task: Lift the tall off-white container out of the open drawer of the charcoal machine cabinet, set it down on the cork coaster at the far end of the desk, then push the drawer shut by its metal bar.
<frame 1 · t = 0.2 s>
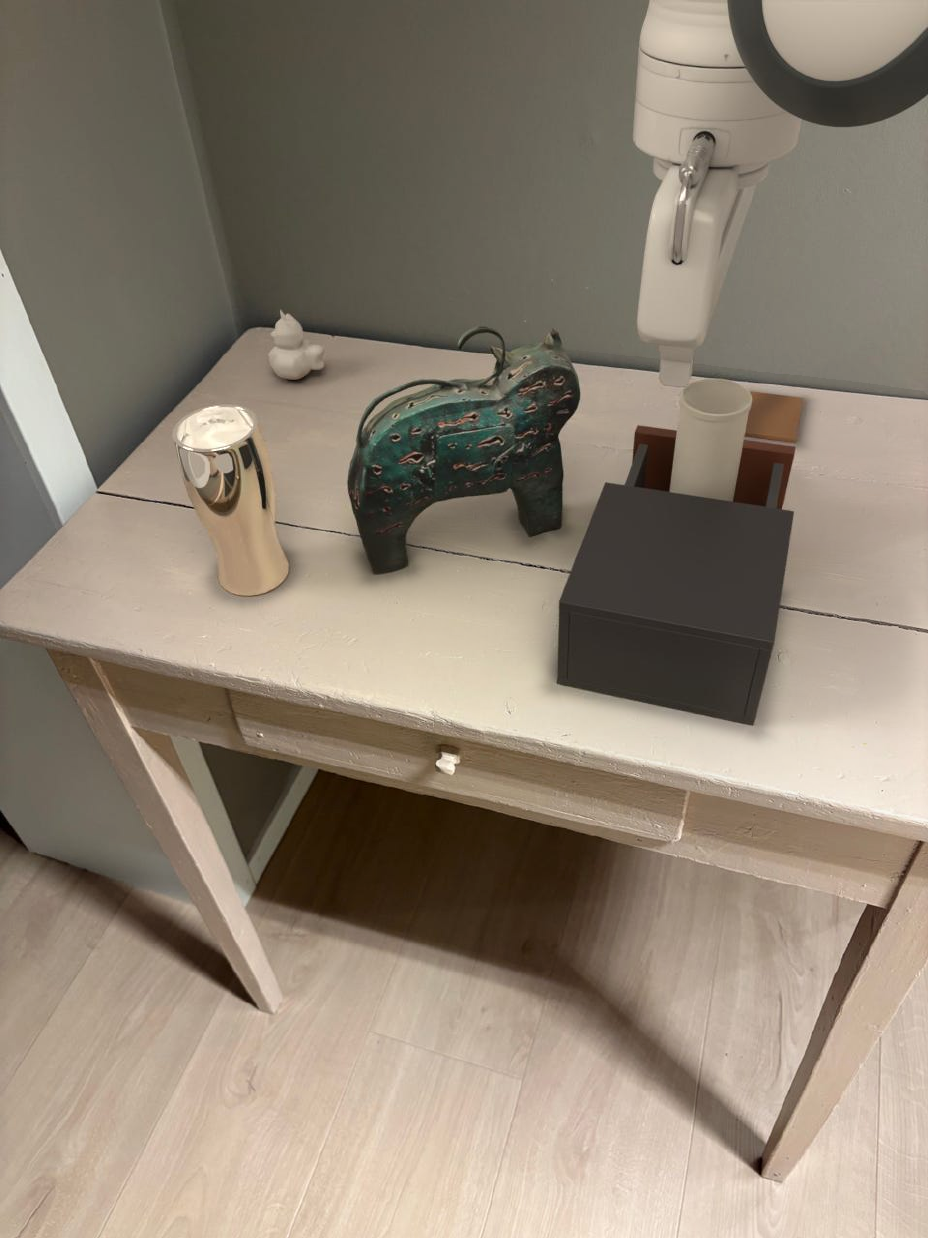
hand: (688, 343, 61), 24 cm above the table, tool pointing down, fingers open, 8 cm apart
drawer: (701, 498, 82), point 4 cm above the table, slide at 9.0 cm, touching container
coaster: (758, 415, 98), on the table
cabinet: (669, 637, 76), on the table
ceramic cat: (470, 544, 86), on the table
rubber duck: (300, 377, 109), on the table
container: (696, 529, 82), point 2 cm above the table, touching drawer
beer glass: (255, 574, 84), on the table
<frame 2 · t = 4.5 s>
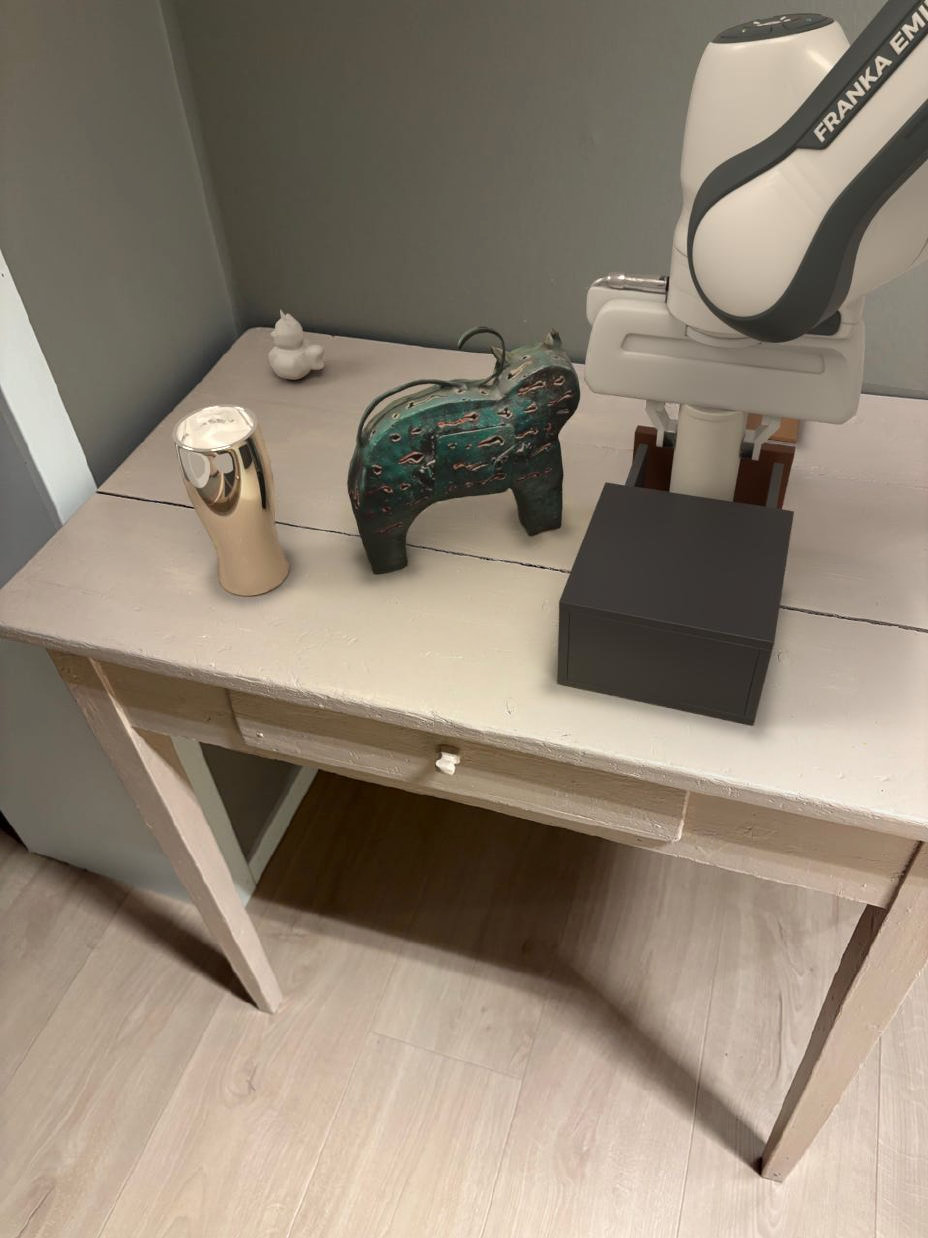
hand: (708, 449, 77), 10 cm above the table, tool pointing down, fingers closed on container, 5 cm apart
container: (696, 529, 82), point 2 cm above the table, touching drawer, gripper
everything else where it was.
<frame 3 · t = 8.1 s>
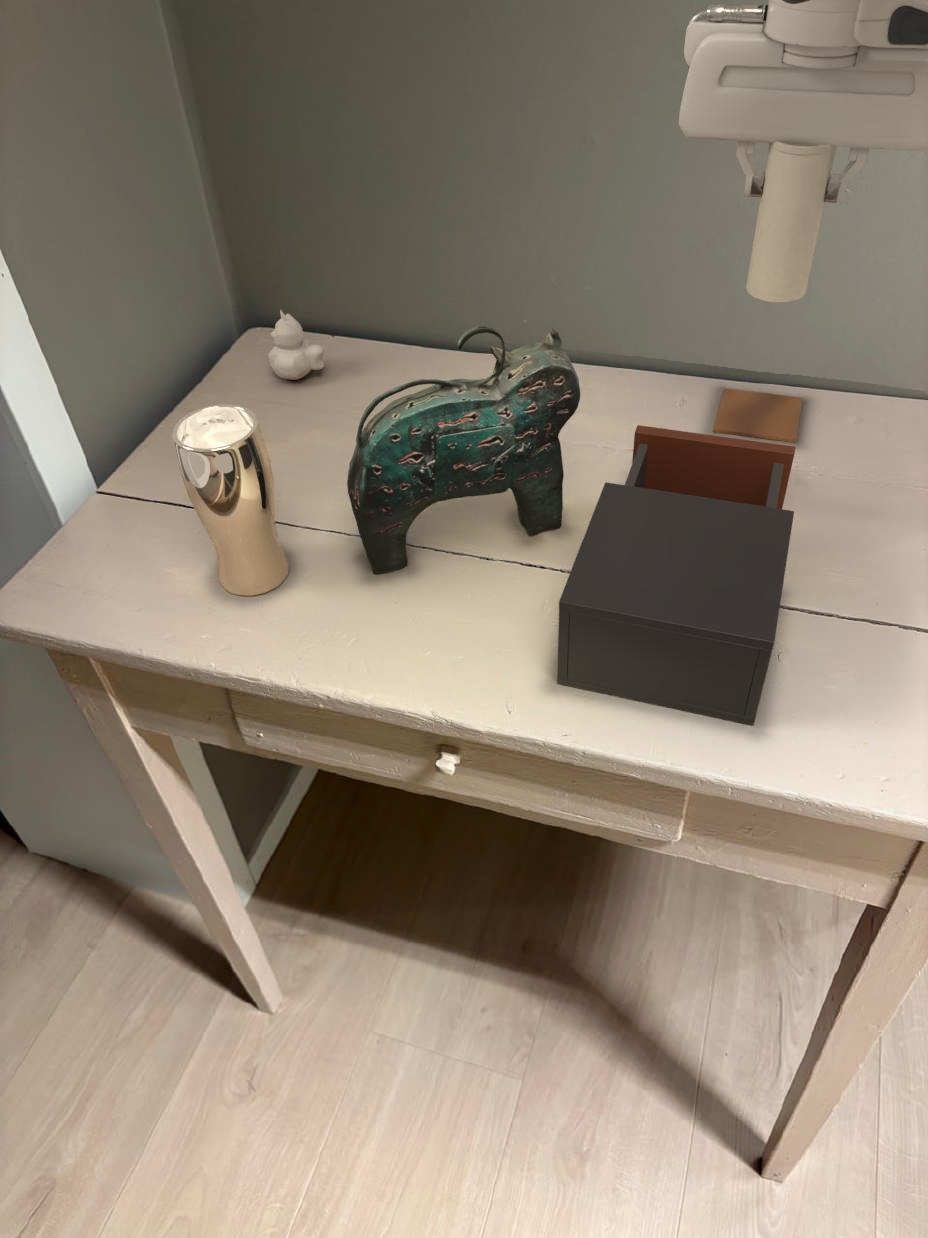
hand: (793, 197, 81), 23 cm above the table, tool pointing down, fingers closed on container, 5 cm apart
drawer: (701, 498, 82), point 4 cm above the table, slide at 9.0 cm
container: (775, 289, 86), point 15 cm above the table, touching gripper
everything else where it was.
when the fingers open (9 cm above the table, at t = 11.7 s): container stays where it is, resting on coaster.
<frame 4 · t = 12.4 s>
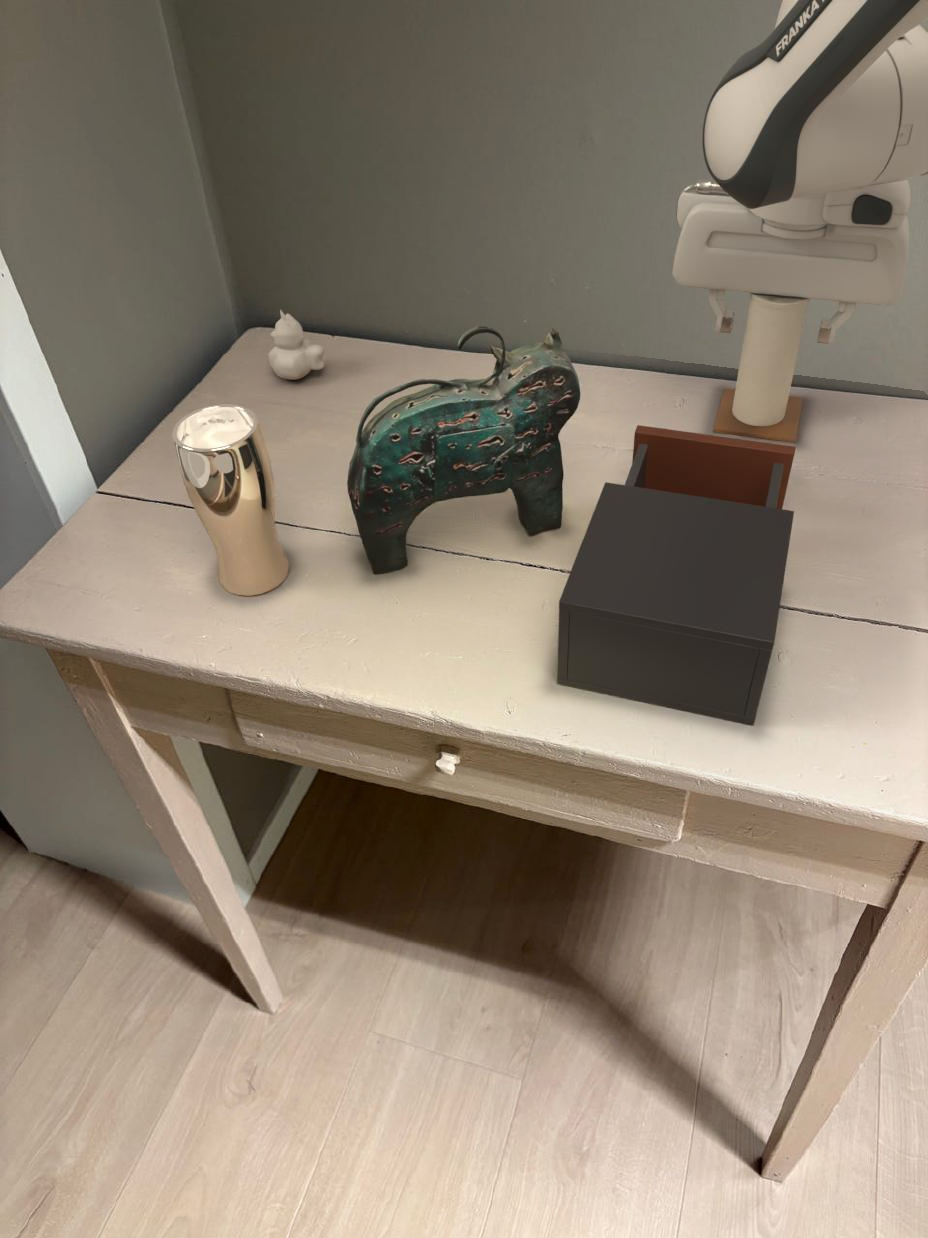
hand: (773, 335, 92), 9 cm above the table, tool pointing down, fingers open, 8 cm apart
container: (758, 412, 98), resting on coaster
everything else where it was.
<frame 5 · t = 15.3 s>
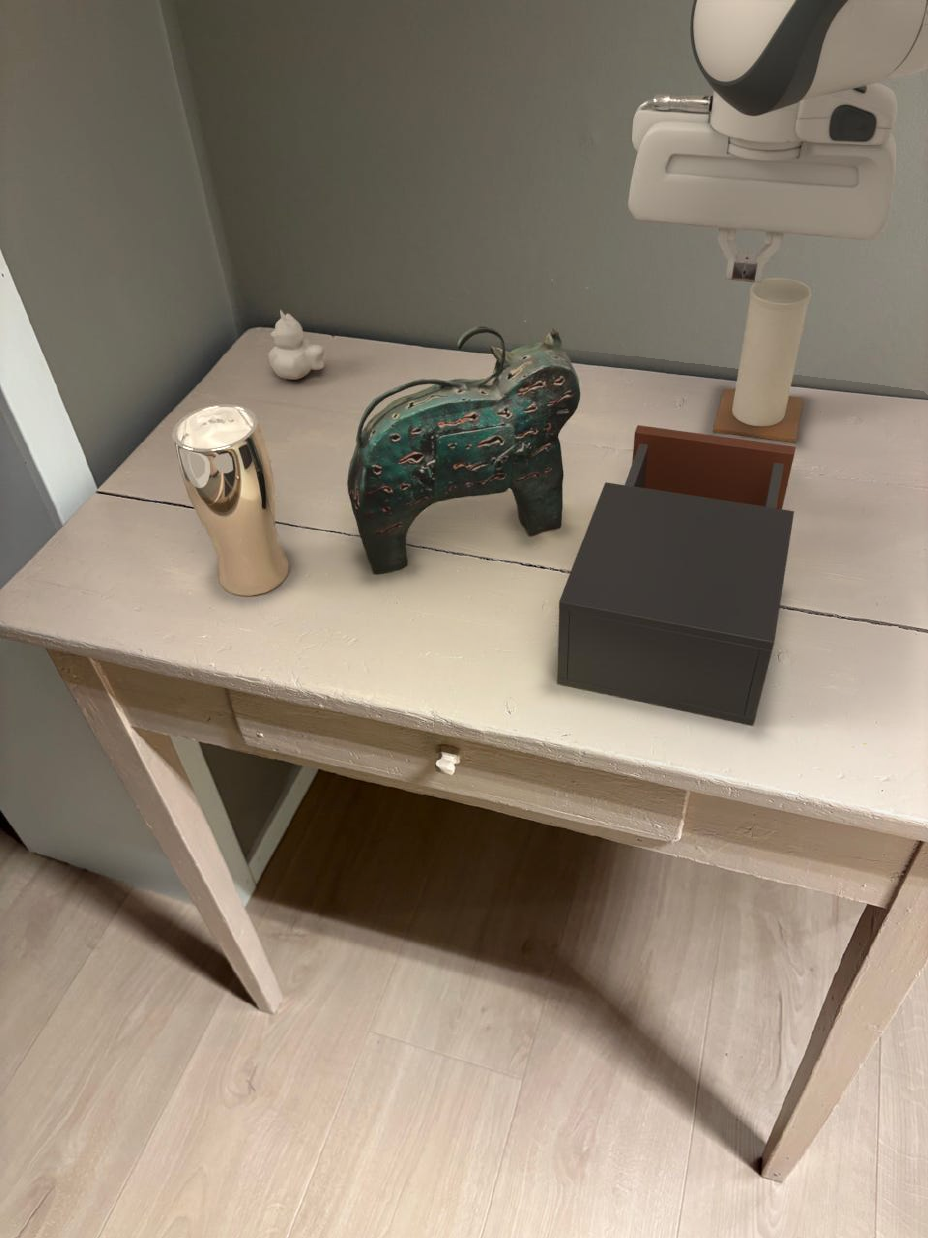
hand: (743, 278, 81), 18 cm above the table, tool pointing down, fingers closed
nothing on the table moved.
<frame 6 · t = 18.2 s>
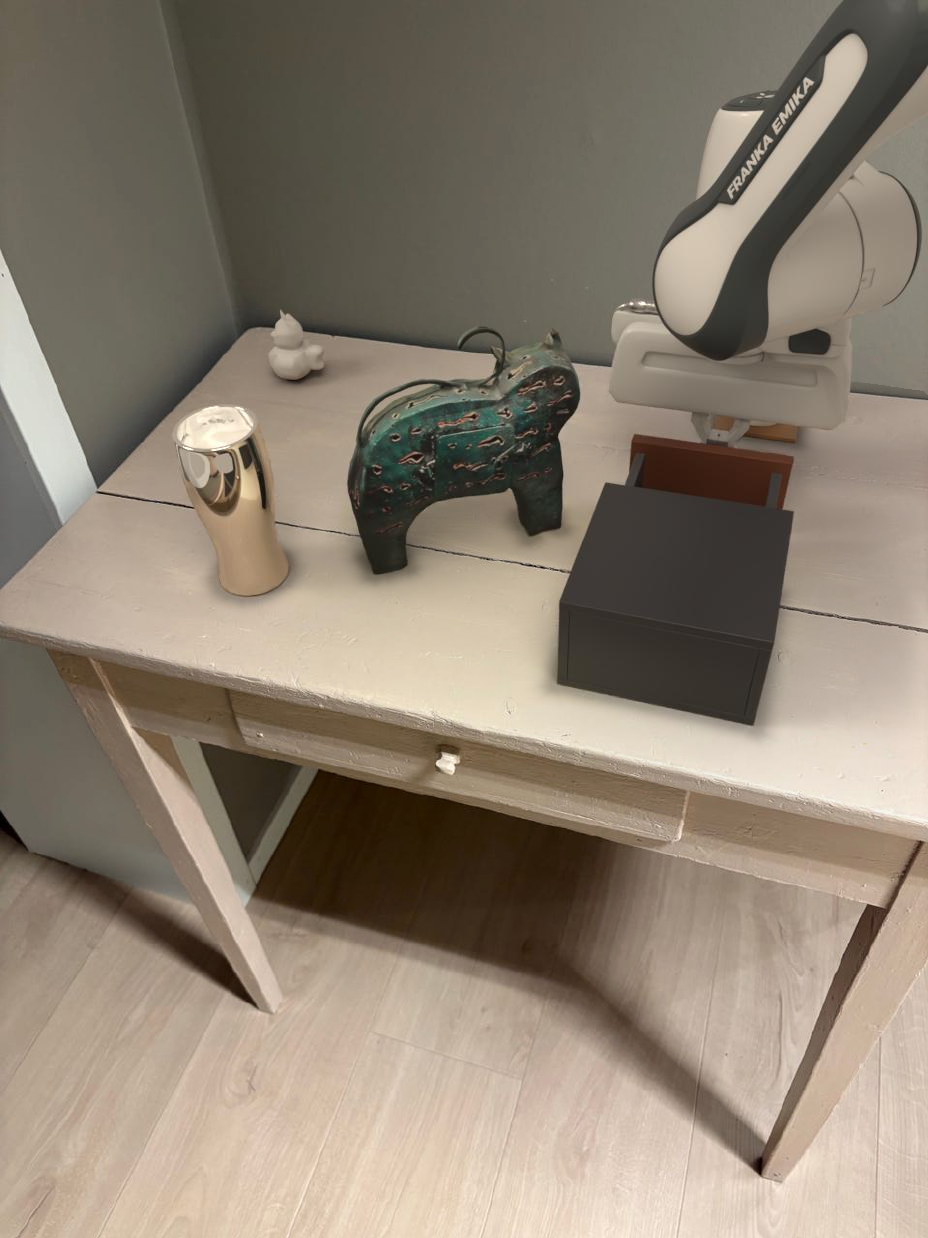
hand: (716, 451, 88), 4 cm above the table, tool pointing down, fingers closed, pressing on drawer
drawer: (699, 508, 81), point 4 cm above the table, slide at 7.6 cm, touching gripper
everything else where it was.
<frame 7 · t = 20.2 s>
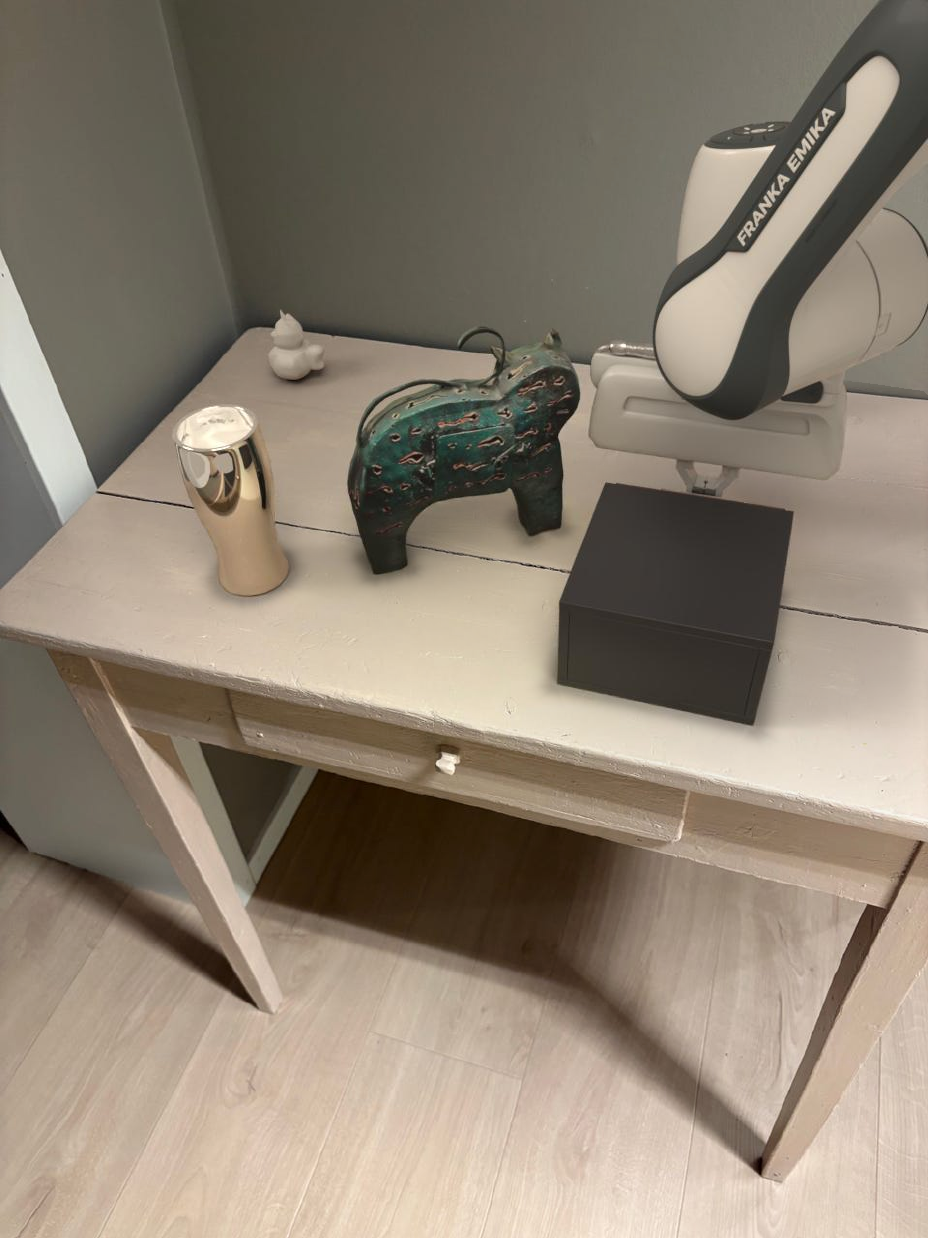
hand: (703, 499, 83), 4 cm above the table, tool pointing down, fingers closed, pressing on drawer
drawer: (684, 563, 76), point 4 cm above the table, slide at 0.2 cm, touching gripper
everything else where it was.
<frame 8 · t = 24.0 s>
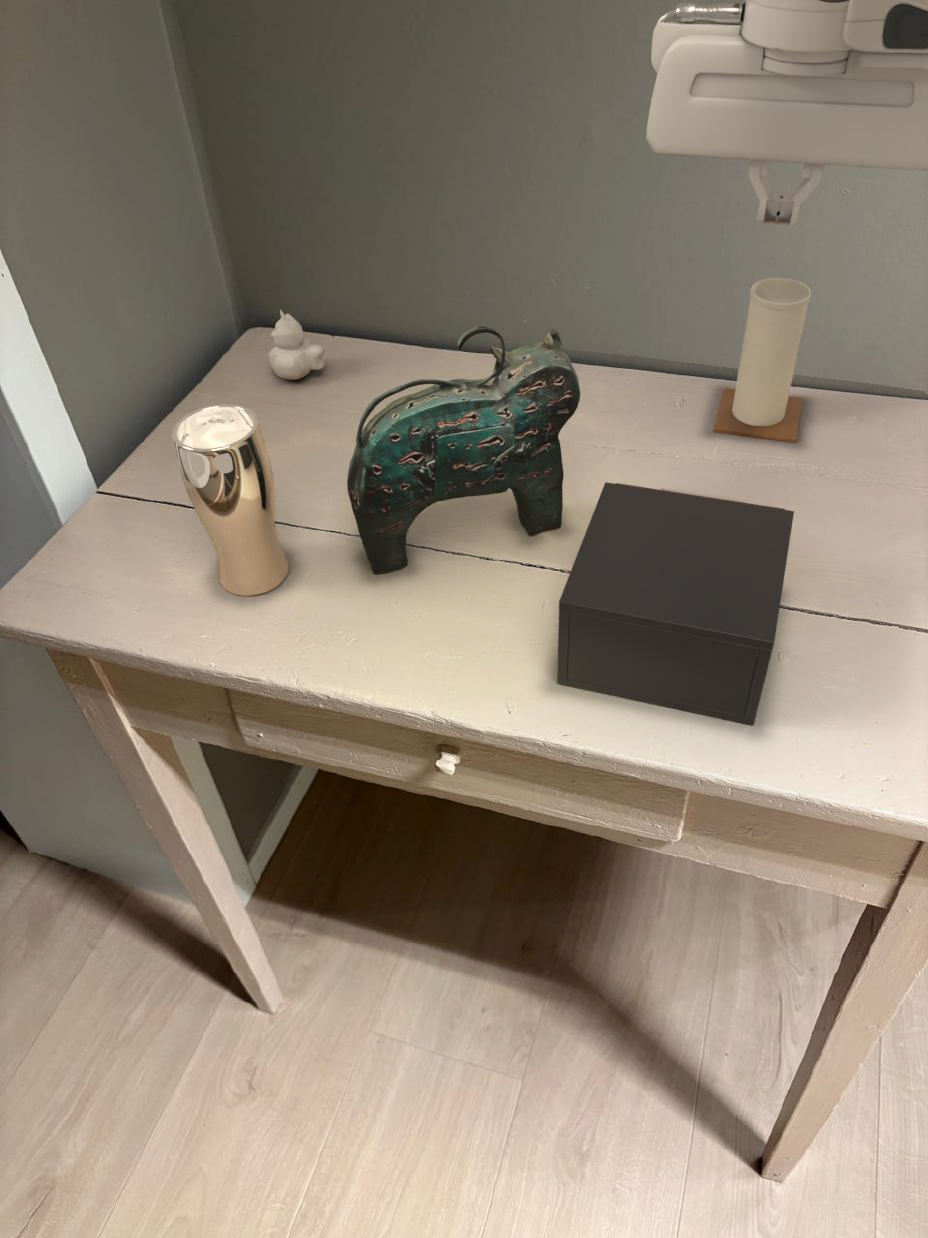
hand: (777, 221, 71), 25 cm above the table, tool pointing down, fingers closed
drawer: (684, 563, 76), point 4 cm above the table, slide at 0.2 cm
everything else where it was.
at the end: container inside the target area on the coaster (0.1 cm from its centre), point 0.4 cm above the coaster's base; container tilted 0°; drawer slide at 0.2 cm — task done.
